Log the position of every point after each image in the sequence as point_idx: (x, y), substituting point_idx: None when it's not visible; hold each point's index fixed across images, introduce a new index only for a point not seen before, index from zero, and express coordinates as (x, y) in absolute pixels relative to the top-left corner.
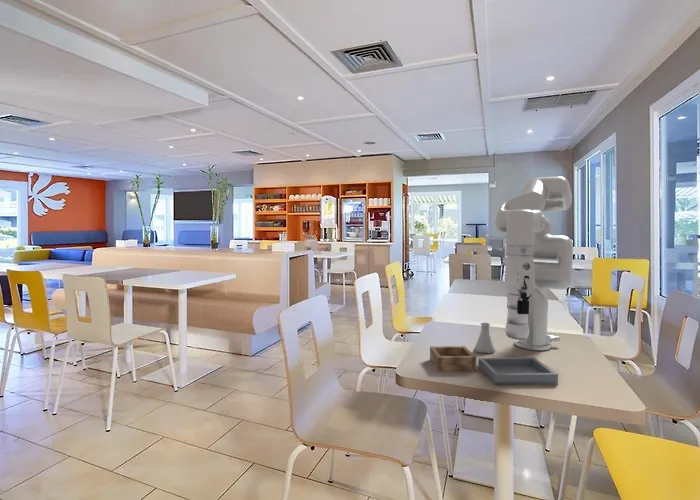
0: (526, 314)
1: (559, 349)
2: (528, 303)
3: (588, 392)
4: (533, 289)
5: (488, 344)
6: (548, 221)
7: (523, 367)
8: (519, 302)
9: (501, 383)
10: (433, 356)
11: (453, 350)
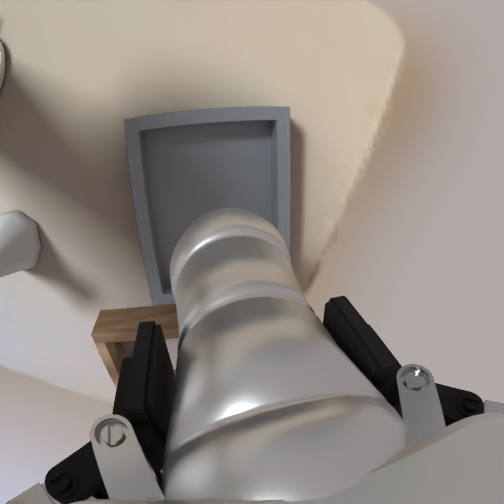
0: (296, 288)
1: (3, 14)
2: (381, 349)
3: (328, 60)
4: (500, 418)
5: (20, 244)
6: None
7: (163, 165)
8: None
9: None
10: None
11: (114, 356)
